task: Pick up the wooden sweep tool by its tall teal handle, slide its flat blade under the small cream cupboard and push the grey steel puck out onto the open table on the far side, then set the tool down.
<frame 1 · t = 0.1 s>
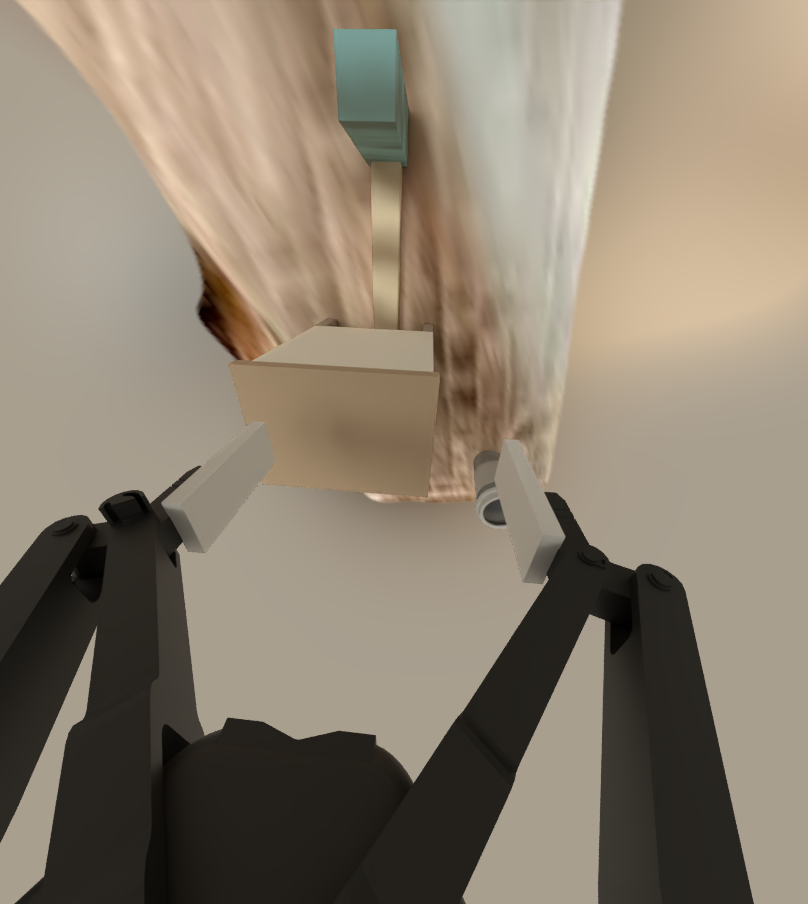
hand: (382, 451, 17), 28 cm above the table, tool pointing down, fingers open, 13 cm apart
cupboard: (380, 359, 42), on the table
cup: (487, 461, 50), on the table
sweep tool: (388, 139, 30), on the table
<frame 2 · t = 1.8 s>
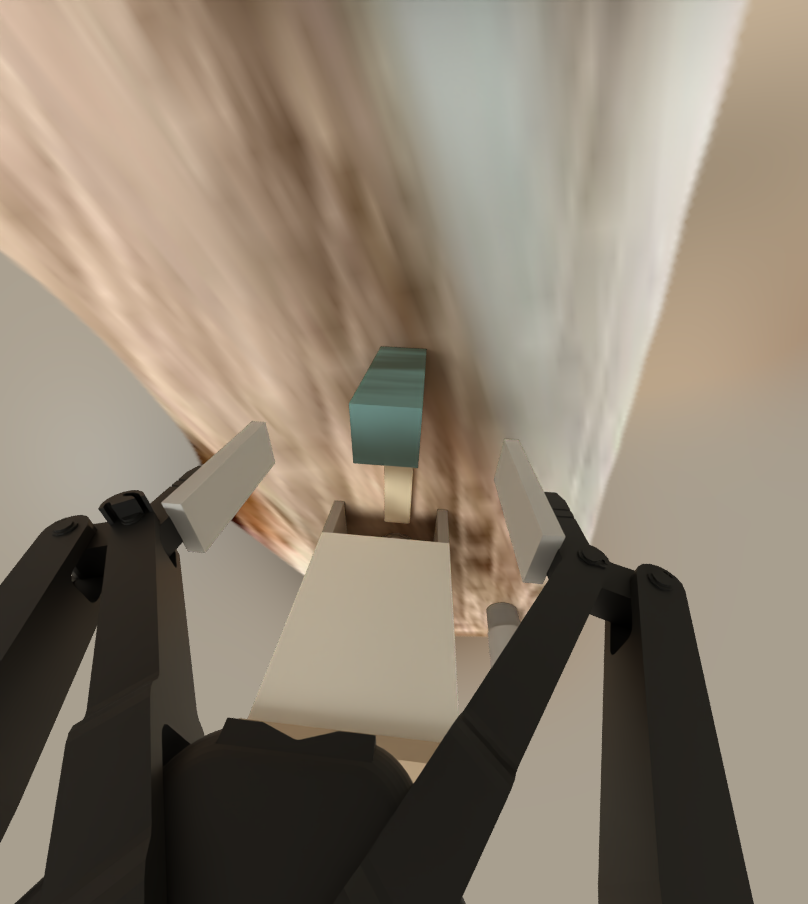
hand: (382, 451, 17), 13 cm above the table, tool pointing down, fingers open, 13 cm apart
cupboard: (390, 532, 39), on the table
cup: (501, 609, 48), on the table
sweep tool: (403, 370, 27), on the table
steel puck: (397, 544, 41), on the table
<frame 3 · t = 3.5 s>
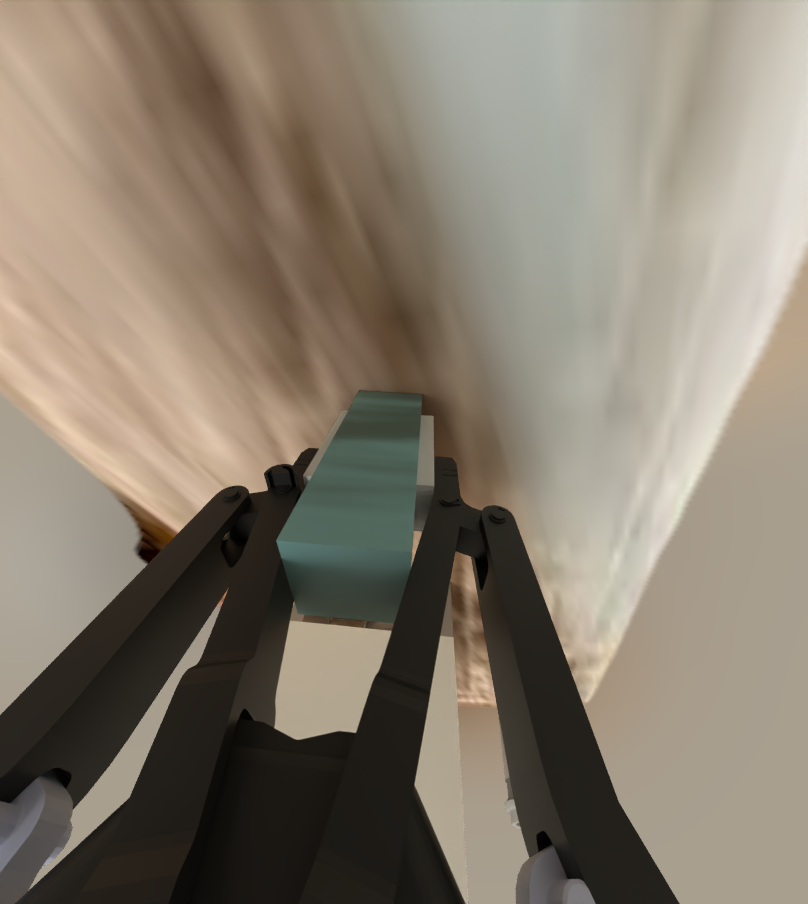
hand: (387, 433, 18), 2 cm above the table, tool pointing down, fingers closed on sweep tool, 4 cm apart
cupboard: (379, 604, 32), on the table
cup: (513, 682, 40), on the table
sweep tool: (390, 420, 20), on the table, touching gripper
steel puck: (388, 616, 33), on the table
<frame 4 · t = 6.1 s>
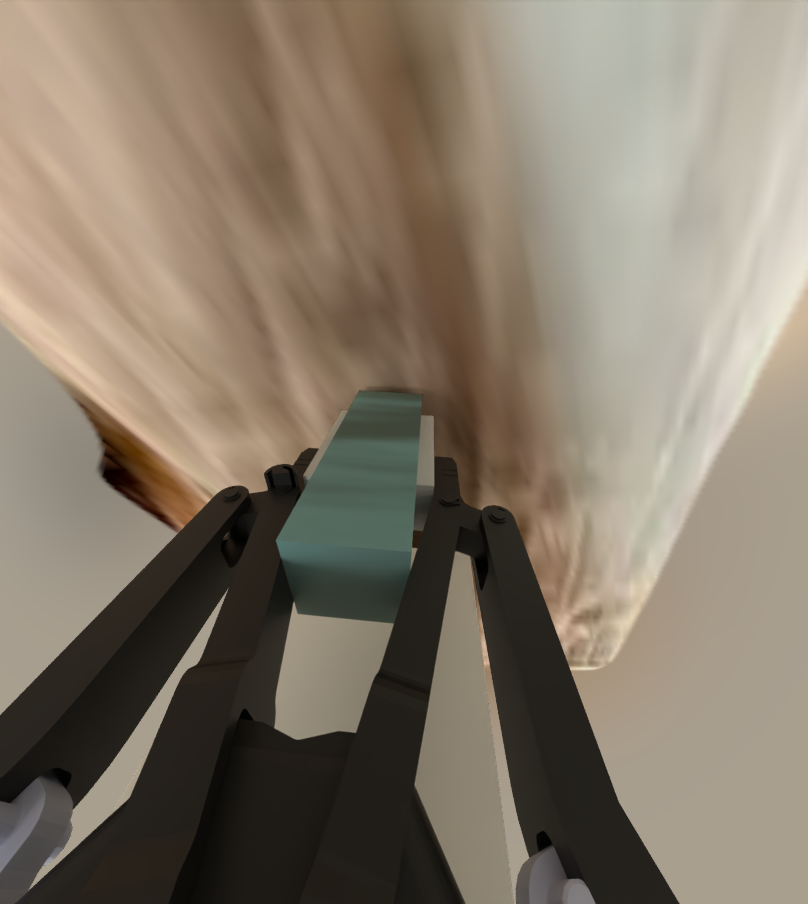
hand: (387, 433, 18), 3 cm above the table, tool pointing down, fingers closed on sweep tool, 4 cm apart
cupboard: (380, 536, 28), on the table
sweep tool: (390, 420, 20), point 1 cm above the table, touching gripper
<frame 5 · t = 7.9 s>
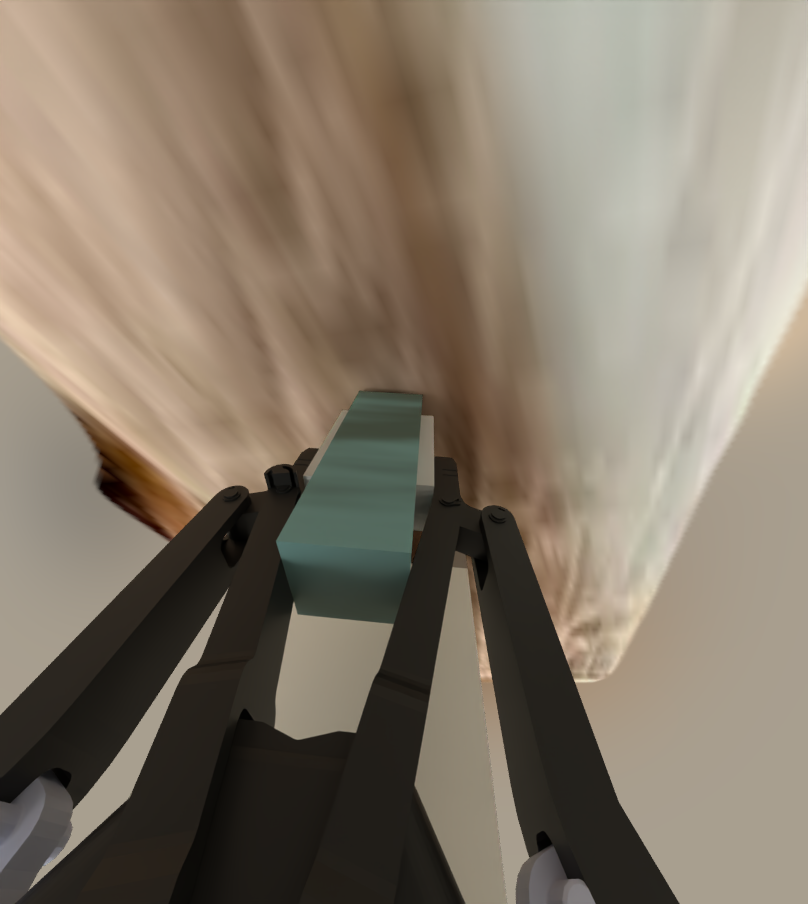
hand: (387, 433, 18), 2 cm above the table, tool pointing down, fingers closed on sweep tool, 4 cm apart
cupboard: (378, 549, 28), on the table
sweep tool: (390, 421, 20), point 1 cm above the table, touching gripper
when the fingers open (2 cm above the table, at t = 9.4 s): sweep tool stays where it is, on the table.
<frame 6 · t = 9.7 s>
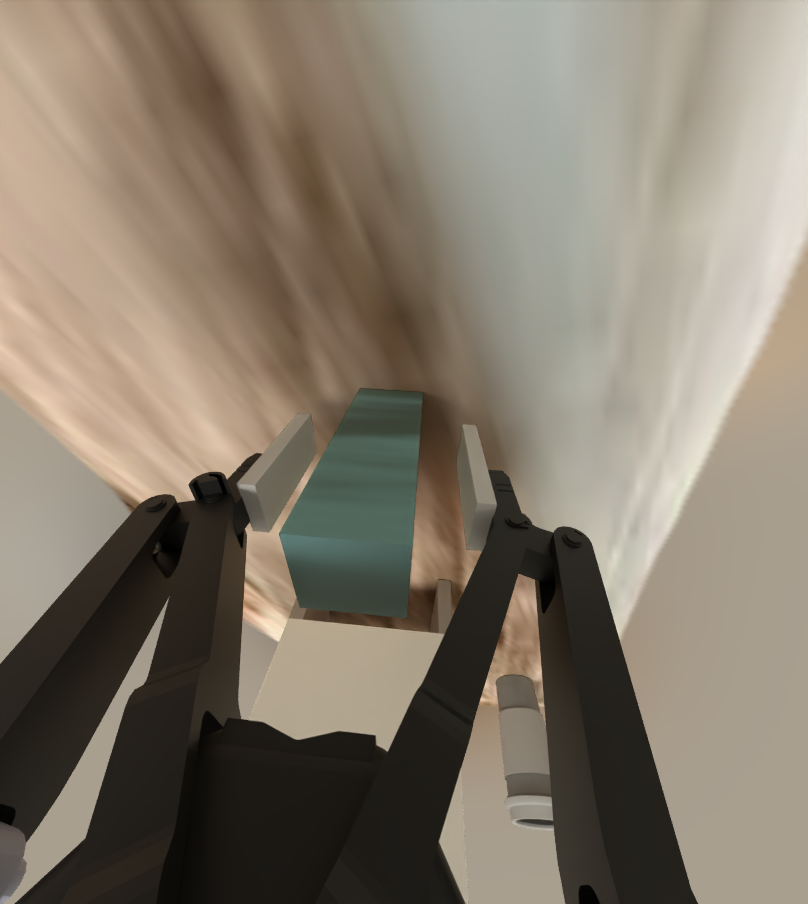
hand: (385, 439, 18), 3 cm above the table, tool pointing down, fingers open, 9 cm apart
cupboard: (379, 602, 32), on the table
cup: (513, 680, 40), on the table
sweep tool: (391, 418, 20), on the table
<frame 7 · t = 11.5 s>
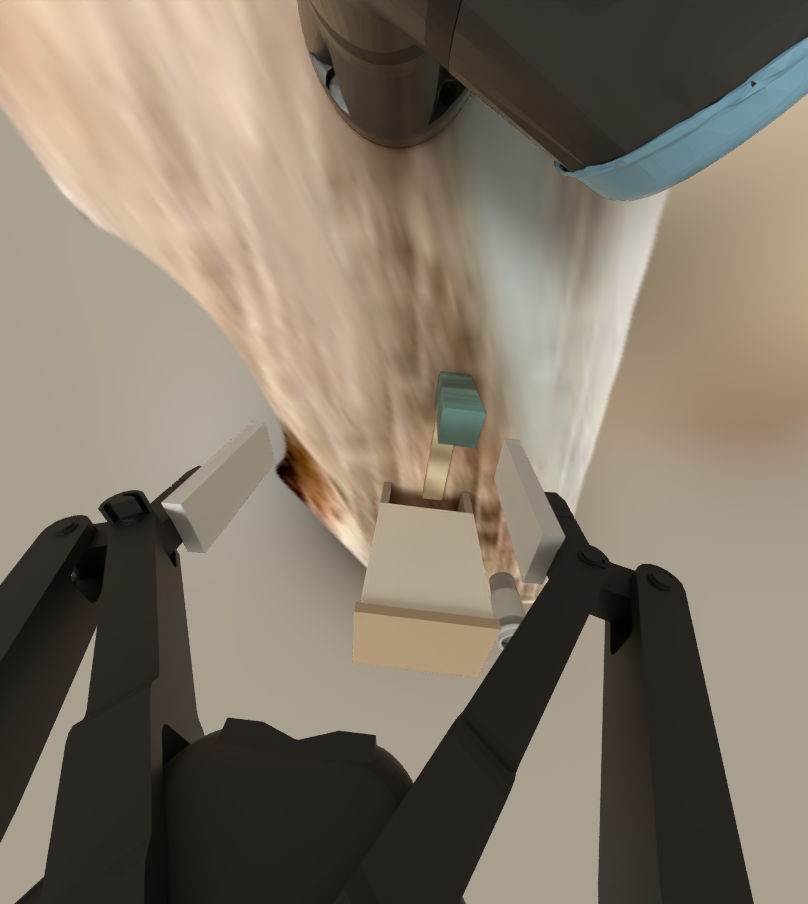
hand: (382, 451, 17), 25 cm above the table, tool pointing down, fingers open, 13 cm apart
cupboard: (422, 509, 51), on the table
cup: (500, 579, 60), on the table
sweep tool: (452, 388, 40), on the table
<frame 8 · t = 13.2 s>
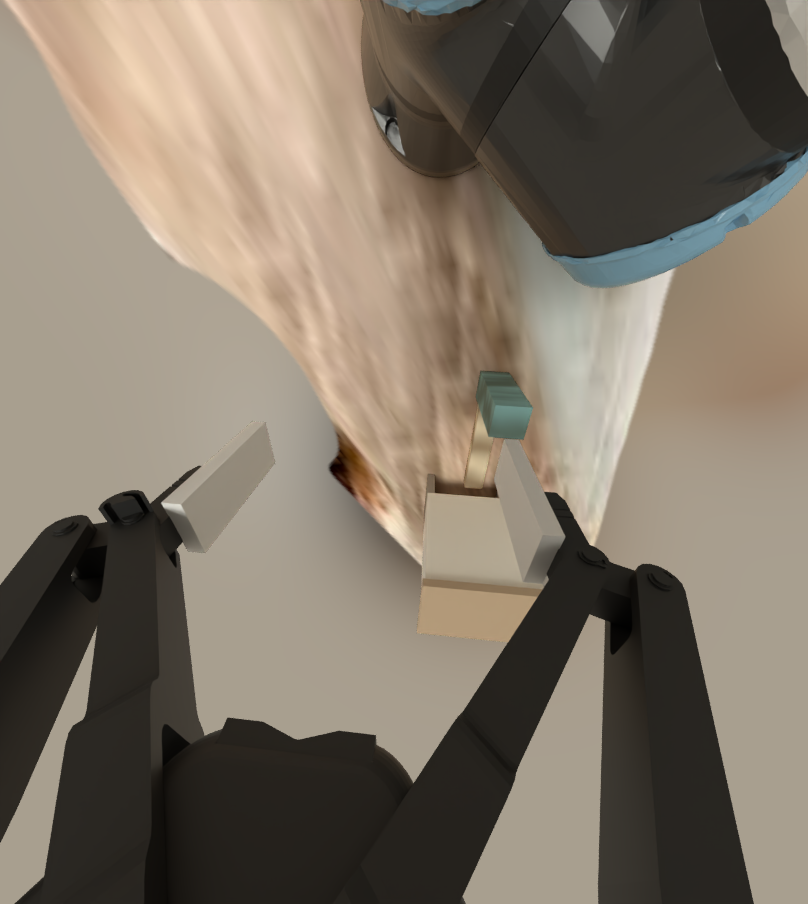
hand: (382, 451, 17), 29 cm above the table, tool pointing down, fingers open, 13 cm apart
cupboard: (463, 498, 55), on the table
sweep tool: (491, 385, 43), on the table
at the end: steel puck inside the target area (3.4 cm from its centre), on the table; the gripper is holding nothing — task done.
